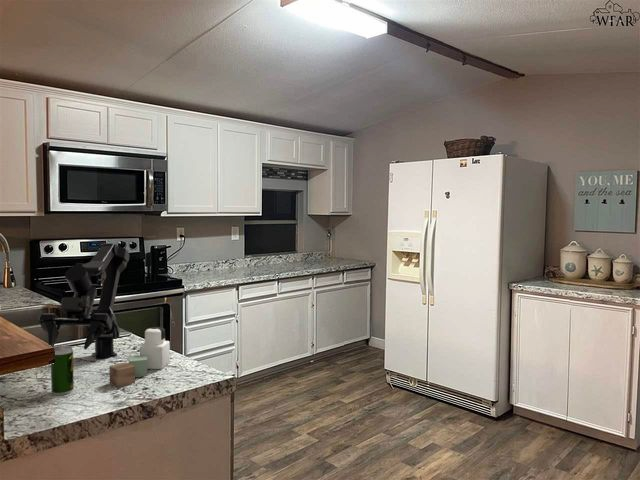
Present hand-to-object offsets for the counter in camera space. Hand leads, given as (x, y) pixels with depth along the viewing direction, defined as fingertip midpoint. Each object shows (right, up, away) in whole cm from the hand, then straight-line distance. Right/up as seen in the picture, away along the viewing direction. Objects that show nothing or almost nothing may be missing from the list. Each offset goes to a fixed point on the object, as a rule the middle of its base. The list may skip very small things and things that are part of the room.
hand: (67, 348), depth 138 cm
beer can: (0, -11, -3) cm, 12 cm away
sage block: (+15, -10, +12) cm, 22 cm away
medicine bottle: (+17, -10, +20) cm, 29 cm away
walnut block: (+13, -11, +5) cm, 18 cm away
